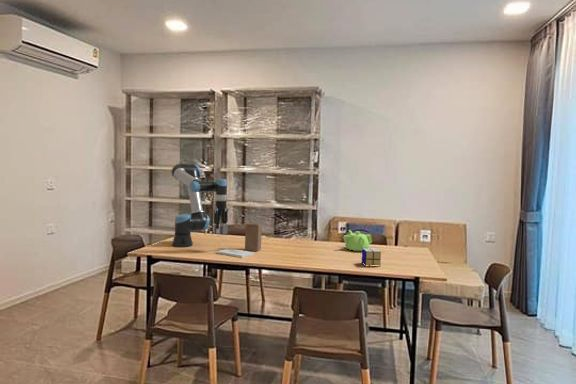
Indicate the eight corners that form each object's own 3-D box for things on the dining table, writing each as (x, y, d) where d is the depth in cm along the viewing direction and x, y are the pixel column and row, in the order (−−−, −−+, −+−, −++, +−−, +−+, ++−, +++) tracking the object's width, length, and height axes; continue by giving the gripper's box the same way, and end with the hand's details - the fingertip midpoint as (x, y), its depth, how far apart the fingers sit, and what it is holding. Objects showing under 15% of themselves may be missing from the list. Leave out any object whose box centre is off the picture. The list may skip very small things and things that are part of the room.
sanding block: (214, 233, 311) (214, 225, 311) (218, 232, 315) (218, 224, 315) (223, 234, 307) (223, 225, 306) (227, 233, 311) (227, 225, 311)
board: (216, 253, 304) (216, 251, 304) (228, 250, 316) (228, 248, 316) (241, 257, 293) (242, 255, 293) (253, 254, 305) (253, 252, 305)
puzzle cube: (361, 263, 291) (362, 248, 290) (375, 263, 292) (376, 248, 291) (365, 266, 281) (366, 251, 280) (380, 266, 282) (381, 251, 281)
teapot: (364, 253, 323) (365, 234, 322) (339, 250, 332) (340, 231, 331) (372, 249, 339) (373, 231, 338) (348, 246, 349) (349, 228, 348)
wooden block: (257, 251, 314) (258, 224, 313) (244, 250, 316) (245, 223, 315) (261, 249, 324) (262, 222, 323) (248, 248, 326) (249, 222, 325)
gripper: (217, 201, 300) (216, 234, 301) (233, 200, 316) (232, 231, 317) (208, 200, 304) (208, 233, 305) (225, 199, 320) (224, 231, 321)
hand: (220, 232), depth 311 cm, fingers closed on sanding block, 5 cm apart
